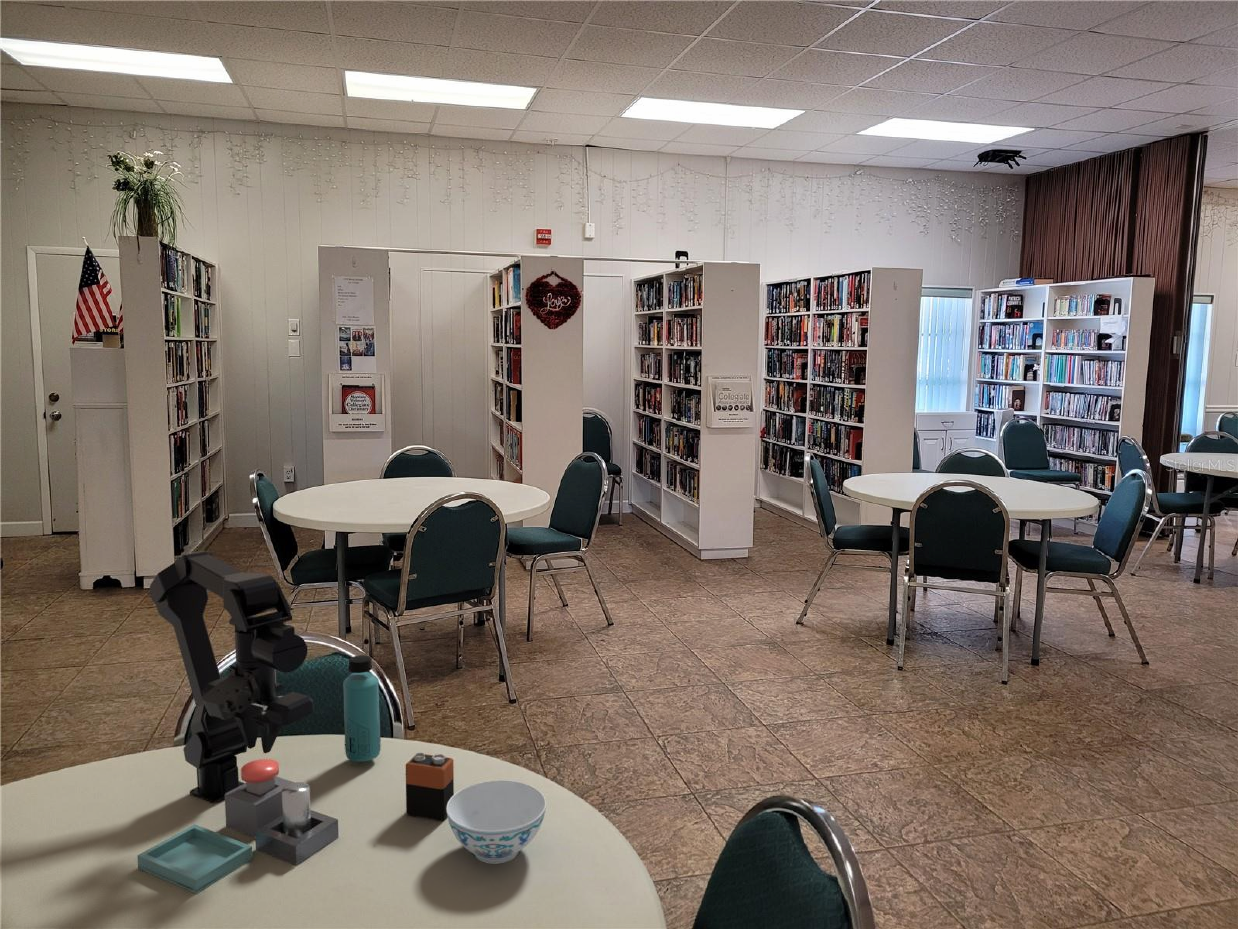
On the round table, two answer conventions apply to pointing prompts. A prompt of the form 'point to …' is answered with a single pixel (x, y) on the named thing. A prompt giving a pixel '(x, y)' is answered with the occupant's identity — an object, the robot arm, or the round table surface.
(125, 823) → the round table surface
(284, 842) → the socket
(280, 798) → the block
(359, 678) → the beverage bottle
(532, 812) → the chinaware
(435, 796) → the battery
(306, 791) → the shiny silver cylinder
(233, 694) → the robot arm
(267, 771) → the release button
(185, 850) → the tray
